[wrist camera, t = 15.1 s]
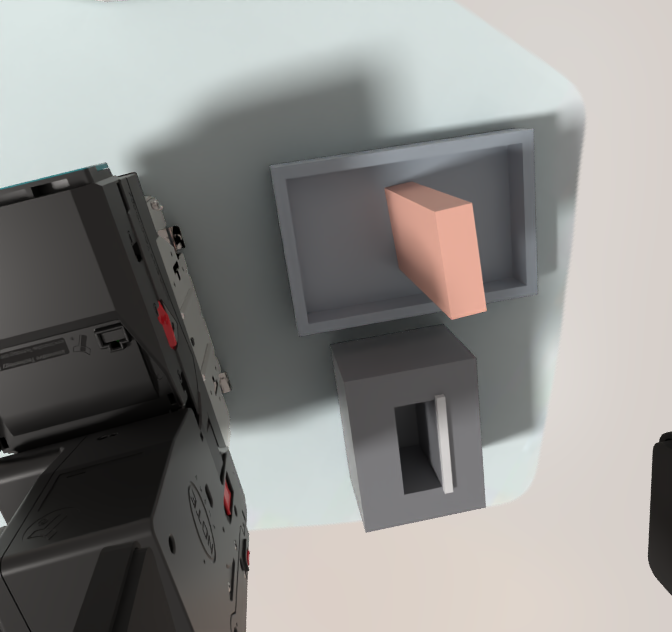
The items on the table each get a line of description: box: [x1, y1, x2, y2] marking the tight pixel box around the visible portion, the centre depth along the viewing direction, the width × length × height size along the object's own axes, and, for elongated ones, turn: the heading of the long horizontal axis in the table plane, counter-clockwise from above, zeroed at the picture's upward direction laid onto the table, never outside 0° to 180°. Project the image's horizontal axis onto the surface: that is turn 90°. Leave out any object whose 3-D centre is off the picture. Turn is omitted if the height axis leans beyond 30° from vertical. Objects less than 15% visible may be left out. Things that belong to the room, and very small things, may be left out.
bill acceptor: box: [0, 162, 250, 632], centre depth 31 cm, size 10×23×25 cm, turn 13°
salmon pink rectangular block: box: [384, 181, 487, 320], centre depth 37 cm, size 6×2×12 cm, turn 12°
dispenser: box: [330, 324, 486, 532], centre depth 44 cm, size 12×9×7 cm
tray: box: [269, 128, 538, 337], centre depth 42 cm, size 12×18×3 cm, turn 98°
